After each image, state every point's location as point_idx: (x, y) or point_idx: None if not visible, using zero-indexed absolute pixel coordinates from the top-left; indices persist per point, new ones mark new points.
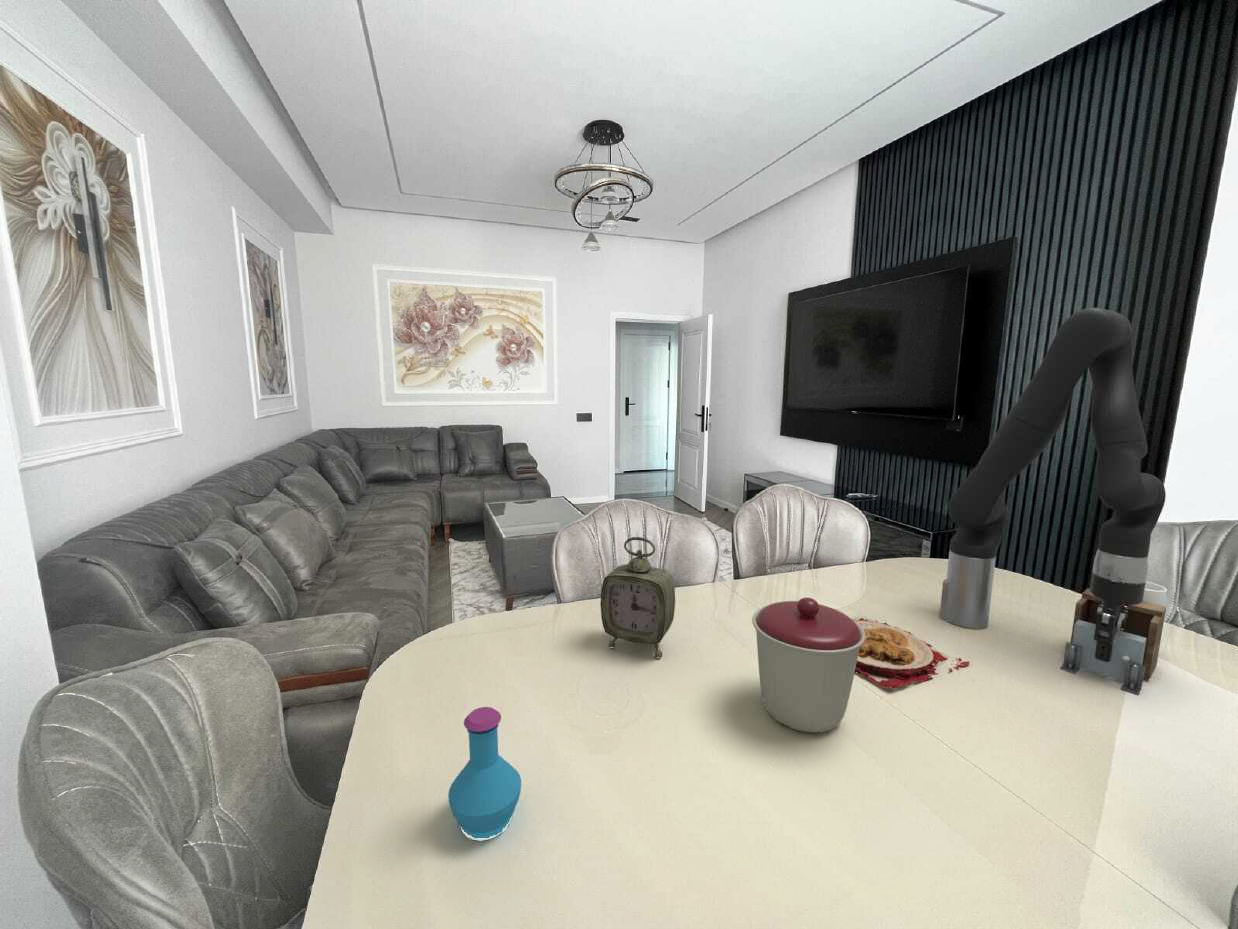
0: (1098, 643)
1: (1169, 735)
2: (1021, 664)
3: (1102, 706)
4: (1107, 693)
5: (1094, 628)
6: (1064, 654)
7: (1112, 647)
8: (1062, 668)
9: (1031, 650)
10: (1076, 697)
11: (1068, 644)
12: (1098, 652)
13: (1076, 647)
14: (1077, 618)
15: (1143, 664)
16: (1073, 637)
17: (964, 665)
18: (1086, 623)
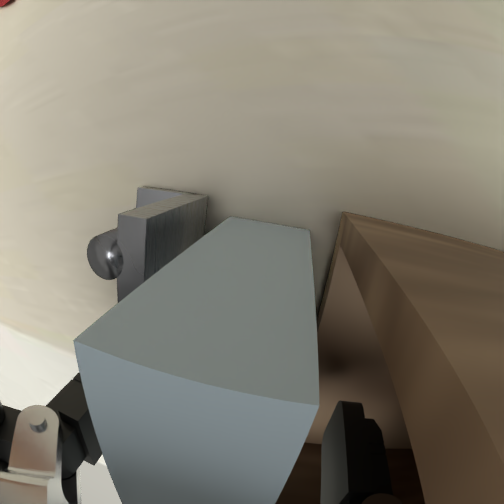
0: (70, 407)
1: (26, 388)
2: (87, 67)
3: (15, 301)
4: (82, 326)
5: (126, 473)
6: (159, 201)
7: (100, 450)
8: (139, 196)
9: (282, 52)
10: (7, 248)
11: (121, 229)
12: (77, 375)
13: (102, 276)
14: (415, 381)
15: (389, 443)
16: (162, 270)
17: (3, 2)
18: (223, 460)
